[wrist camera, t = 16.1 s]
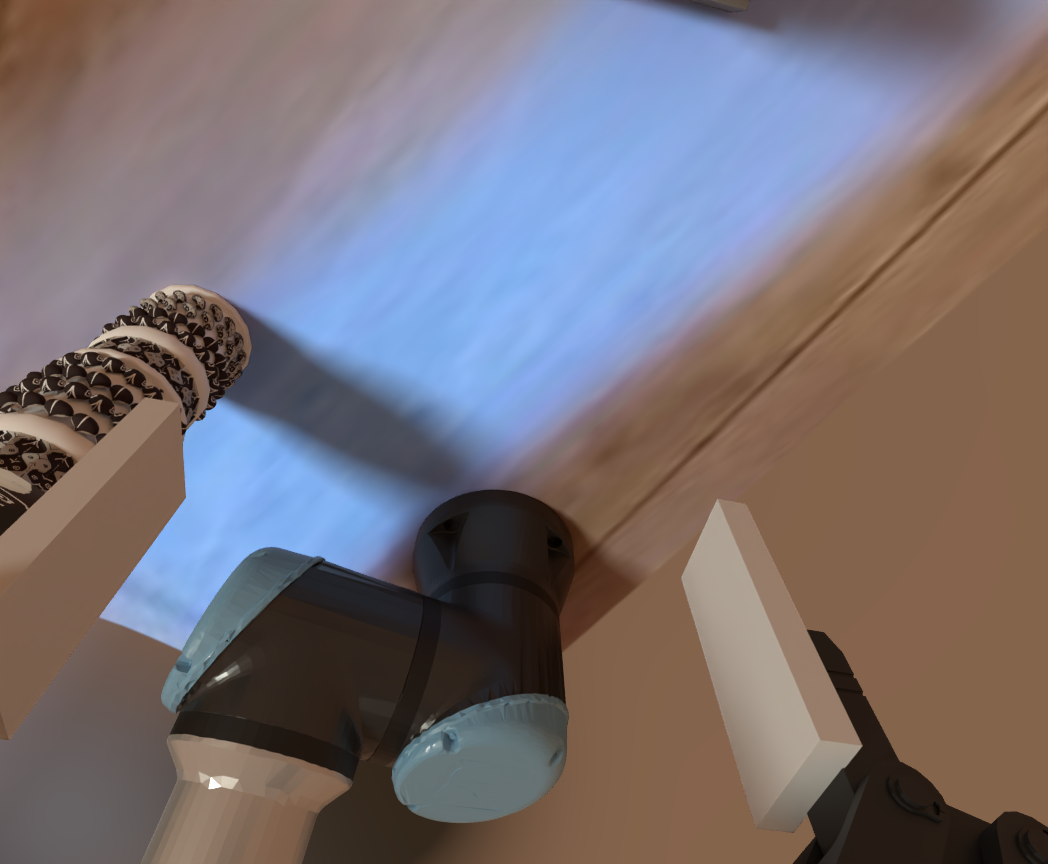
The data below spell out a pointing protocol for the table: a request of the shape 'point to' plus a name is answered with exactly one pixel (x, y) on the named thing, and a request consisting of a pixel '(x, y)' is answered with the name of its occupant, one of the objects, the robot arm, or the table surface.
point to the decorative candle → (119, 385)
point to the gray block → (725, 4)
